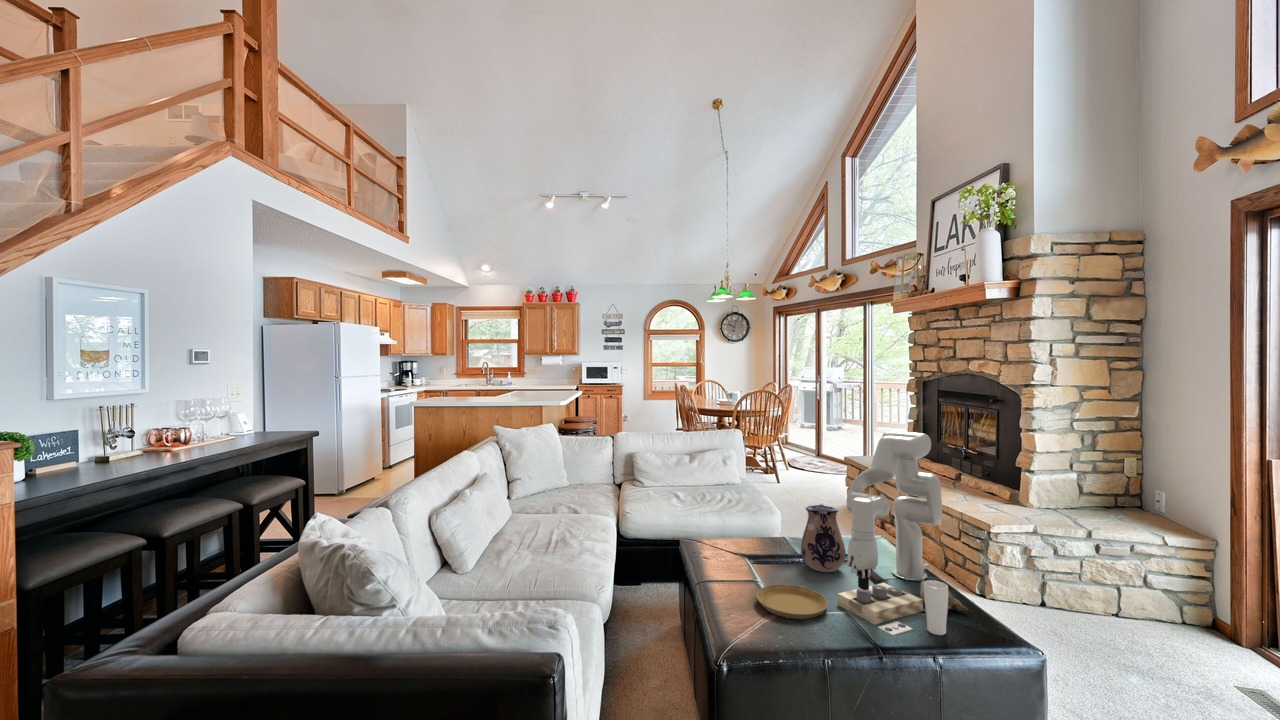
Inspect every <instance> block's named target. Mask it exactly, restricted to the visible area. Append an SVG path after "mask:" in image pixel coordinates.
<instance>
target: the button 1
mask: <svg viewBox="0 0 1280 720" xmlns="http://www.w3.org/2000/svg"><path fill="white" fill-rule="evenodd" d="M856 589H857V602H859V603H861V604H863V605H867V604H871V592H870V591H869V590H863V589H859V588H856Z"/></svg>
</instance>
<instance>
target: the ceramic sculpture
mask: <svg viewBox="0 0 1280 720" xmlns="http://www.w3.org/2000/svg"><path fill="white" fill-rule="evenodd" d="M925 581H926V580H922V581H920V592H919V596H920V597H919V598H921V599H923V603H925V599H924V582H925ZM951 608H953V609H955V610H958V611H968V610H969V609H970V608H969V607H968V606H965V605H963V604H962V602H961V601H960V600H958V599H957V598H955V597H953V595H952V592H951V591H950V590H949V589H948V610H947V615H948V614H949V610H950V609H951Z"/></svg>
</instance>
